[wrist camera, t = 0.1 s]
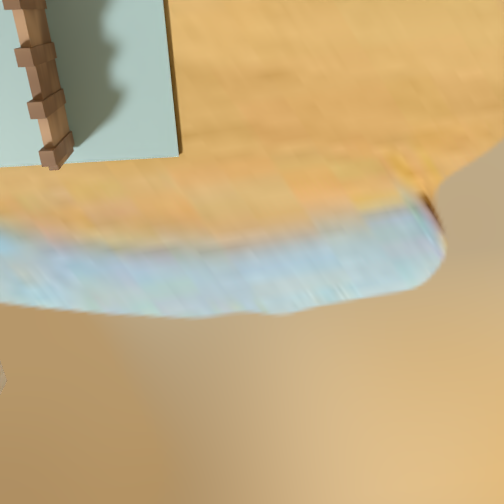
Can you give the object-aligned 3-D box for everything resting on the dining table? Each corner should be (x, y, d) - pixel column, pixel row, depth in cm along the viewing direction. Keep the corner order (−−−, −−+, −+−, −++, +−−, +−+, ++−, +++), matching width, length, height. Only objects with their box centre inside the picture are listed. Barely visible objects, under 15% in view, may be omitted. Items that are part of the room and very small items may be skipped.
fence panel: (27, -17, 31) (-4, -22, 26) (41, -18, 31) (14, -22, 26) (63, 151, 36) (43, 174, 31) (76, 150, 36) (58, 173, 31)
